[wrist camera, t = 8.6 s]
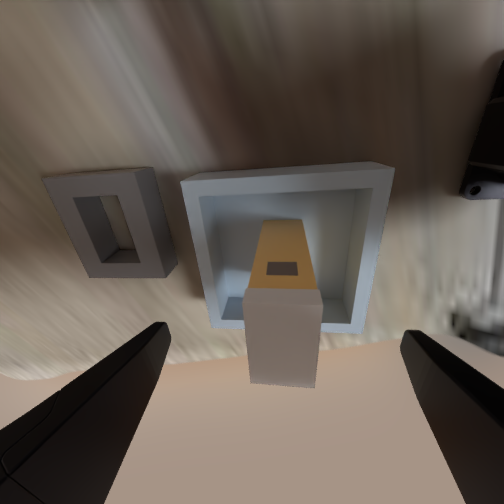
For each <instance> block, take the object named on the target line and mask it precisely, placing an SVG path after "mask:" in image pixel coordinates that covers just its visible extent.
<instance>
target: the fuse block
mask: <svg viewBox="0 0 504 504" xmlns="http://www.w3.org/2000/svg"><path fill="white" fill-rule="evenodd" d="M41 179H42V181H43V183H44V185H45V187H46V189H47V191H48V193H49V196H50V198H51V200H52V202H53V204H54V206H55V208H56V210H57V212H58V214H59V216H60V218H61V220H62V222H63V224H64V227H65V229H66V231H67V233H68V235H69V237H70V239H71V241H72V243H73V245H74V247H75V249H76V251H77V253H78V255H79V258H80V260H81V262H82V264H83V266H84V268H85V270H86V272H87V274H88V276H89V278H166V277H167V276H168V275H169V274H170V273H171V271H172V270H173V269H174V268H175V266H176V265H177V264H178V262H177V258H176V254H175V251H174V247H173V243H172V239H171V235H170V231H169V228H168V224H167V220H166V216H165V212H164V209H163V205H162V201H161V197H160V193H159V189H158V186H157V182H156V178H155V174H154V170H153V167H150V168H136V169H122V170H108V171H94V172H80V173H68V174H63V175H57V176H52V177H46V178H41ZM110 195H117V196H118V199H119V202H120V205H121V208H122V210H123V213H124V216H125V219H126V222H127V225H128V228H129V231H130V233H131V236H132V239H133V242H134V245H135V248H136V250H119V247H118V245H117V242H116V239H115V237H114V234H113V232H112V229H111V226H110V224H109V221H108V219H107V216H106V213H105V211H104V208H103V206H102V203H101V201H100V198H99V196H110Z"/></svg>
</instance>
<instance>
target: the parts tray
mask: <svg viewBox="0 0 504 504" xmlns="http://www.w3.org/2000/svg"><path fill="white" fill-rule="evenodd" d="M394 173H395V168H393V167H389V166H386V165H383V164H380V163H376V162H373V161H367V162H352V163H337V164H322V165H307V166H292V167H277V168H261V169H246V170H231V171H216V172H201V173H198V174H195V175H193V176H191V177H189V178H187V179H184V180H182V181H180V183H181V188H182V192H183V197H184V202H185V206H186V211H187V216H188V220H189V225H190V230H191V234H192V239H193V244H194V248H195V253H196V257H197V262H198V267H199V271H200V276H201V281H202V285H203V290H204V295H205V299H206V304H207V309H208V313H209V318H210V322H211V327H212V328H228V329H245V325H244V316H243V307H242V301H243V297H244V293H245V289H246V288H248V284H249V280H250V276H251V271H252V267H253V263H254V259H255V254H256V250H257V246H258V242H259V237H260V233H261V229H262V225H263V220H302V221H303V225H304V230H305V234H306V239H307V243H308V248H309V253H310V257H311V262H312V266H313V271H314V275H315V280H316V284H317V289H319V290H320V294H321V298H322V302H323V313H322V322H321V332H332V333H358V334H362V333H363V328H364V323H365V318H366V313H367V308H368V303H369V298H370V293H371V288H372V283H373V278H374V273H375V268H376V263H377V258H378V253H379V248H380V243H381V238H382V233H383V228H384V223H385V218H386V213H387V208H388V203H389V198H390V193H391V188H392V183H393V178H394Z"/></svg>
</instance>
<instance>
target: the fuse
mask: <svg viewBox="0 0 504 504" xmlns="http://www.w3.org/2000/svg"><path fill="white" fill-rule="evenodd" d="M242 307H243V316H244V325H245V335H246V344H247V353H248V362H249V372H250V381H251V383H256V384H268V385H280V386H292V387H304V388H315V381H316V370H317V361H318V352H319V342H320V332H321V322H322V313H323V302H322V298H321V294H320V290H319V289H317V284H316V280H315V275H314V271H313V266H312V262H311V257H310V253H309V248H308V243H307V239H306V234H305V230H304V225H303V221H302V220H263V225H262V229H261V233H260V237H259V242H258V246H257V250H256V254H255V259H254V263H253V267H252V271H251V276H250V280H249V284H248V288H246V289H245V293H244V297H243V301H242Z"/></svg>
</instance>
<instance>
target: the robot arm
mask: <svg viewBox="0 0 504 504" xmlns="http://www.w3.org/2000/svg"><path fill="white" fill-rule="evenodd" d="M474 186H475V190H474V191H473V192H472V193H470V190H471V188H473V187H474ZM459 193H460V196H462V197H463V198H466V199H469V200H481V199H504V60H503V62H502V65H501V68H500V71H499V74H498V77H497V80H496V83H495V86H494V89H493V92H492V95H491V98H490V101H489V104H488V105H487V106H486V108H485V111H484V114H483V117H482V120H481V123H480V126H479V129H478V132H477V135H476V138H475V141H474V144H473V147H472V150H471V153H470V156H469V163H468V166H467V169H466V172H465V175H464V178H463V181H462V184H461V187H460V191H459ZM170 343H171V334H170V331H169V328H168V325H167V323H166V322H155V323H153V324H152V325H150V326H149V327H148V328H146V329H145V330H143V331H142V332H140V333H139V334H138V335H136V336H135V337H133V338H132V339H131V340H129V341H128V342H126V343H125V344H124V345H122V346H121V347H119V348H118V349H117V350H115V351H114V352H112V353H111V354H109V355H108V356H107V357H105V358H104V359H102V360H101V361H100V362H98V363H97V364H95V365H94V366H93V367H91V368H90V369H88V370H87V371H85V372H84V373H83V374H81V375H80V376H78V377H77V378H76V379H74V380H73V381H71V382H70V383H69V384H67V385H66V386H64V387H63V388H62V389H61V390H59V391H57V392H56V393H54V394H53V395H52V396H50V397H49V398H47V399H46V400H44V401H43V402H42V403H40V404H39V405H37V406H36V407H34V408H33V409H31V410H30V411H28V412H27V413H26V414H24V415H23V416H21V417H19V418H18V419H16V420H15V421H13V422H12V423H11V424H9V425H7V426H6V427H4V428H3V429H1V430H0V504H104V502H105V500H106V498H107V495H108V493H109V491H110V489H111V486H112V484H113V482H114V480H115V477H116V475H117V473H118V470H119V468H120V466H121V464H122V461H123V459H124V457H125V455H126V452H127V450H128V448H129V446H130V443H131V441H132V439H133V436H134V434H135V432H136V430H137V427H138V425H139V423H140V420H141V418H142V416H143V414H144V411H145V409H146V407H147V404H148V402H149V400H150V397H151V395H152V393H153V391H154V389H155V386H156V384H157V381H158V379H159V376H160V373H161V370H162V367H163V364H164V361H165V358H166V355H167V352H168V349H169V346H170ZM400 351H401V354H402V357H403V360H404V363H405V366H406V368H407V371H408V374H409V377H410V380H411V383H412V386H413V388H414V392H415V394H416V397H417V399H418V401H419V404H420V406H421V408H422V410H423V412H424V414H425V417H426V419H427V421H428V423H429V425H430V427H431V430H432V432H433V434H434V436H435V438H436V440H437V443H438V445H439V447H440V449H441V451H442V453H443V456H444V458H445V460H446V462H447V464H448V466H449V468H450V470H451V473H452V475H453V477H454V479H455V481H456V483H457V485H458V488H459V490H460V492H461V494H462V496H463V499H464V501H465V503H466V504H504V389H503V388H501V387H500V386H499V385H497V384H496V383H494V382H493V381H492V380H490V379H489V378H487V377H486V376H484V375H483V374H481V373H480V372H478V371H477V370H476V369H474V368H473V367H471V366H470V365H469V364H467V363H466V362H464V361H463V360H462V359H460V358H459V357H457V356H456V355H454V354H453V353H452V352H450V351H449V350H447V349H446V348H445V347H443V346H442V345H440V344H439V343H437V342H436V341H435V340H433V339H432V338H430V337H429V336H427V335H426V334H425V333H423V332H422V331H420V330H406V331H405V332H404V335H403V338H402V342H401V345H400Z"/></svg>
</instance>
